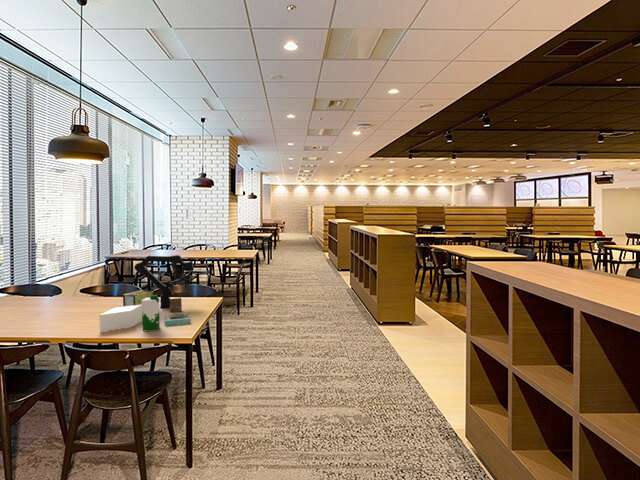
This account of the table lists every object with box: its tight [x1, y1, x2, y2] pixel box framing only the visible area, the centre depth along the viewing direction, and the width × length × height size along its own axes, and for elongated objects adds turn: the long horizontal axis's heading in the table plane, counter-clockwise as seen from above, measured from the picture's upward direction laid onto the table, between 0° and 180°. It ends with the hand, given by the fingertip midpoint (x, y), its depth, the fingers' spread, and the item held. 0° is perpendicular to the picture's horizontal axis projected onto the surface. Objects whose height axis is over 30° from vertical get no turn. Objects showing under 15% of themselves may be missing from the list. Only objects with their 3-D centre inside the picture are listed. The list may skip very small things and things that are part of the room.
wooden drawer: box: [169, 297, 185, 320], centre depth 256 cm, size 14×8×11 cm, turn 22°
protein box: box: [122, 289, 154, 307], centre depth 258 cm, size 10×15×16 cm
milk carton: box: [141, 294, 161, 332], centre depth 230 cm, size 9×9×20 cm
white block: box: [98, 304, 142, 333], centre depth 237 cm, size 14×29×10 cm, turn 153°
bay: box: [164, 313, 191, 327], centre depth 246 cm, size 15×14×3 cm
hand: (180, 291), depth 274 cm, fingers open, 9 cm apart
